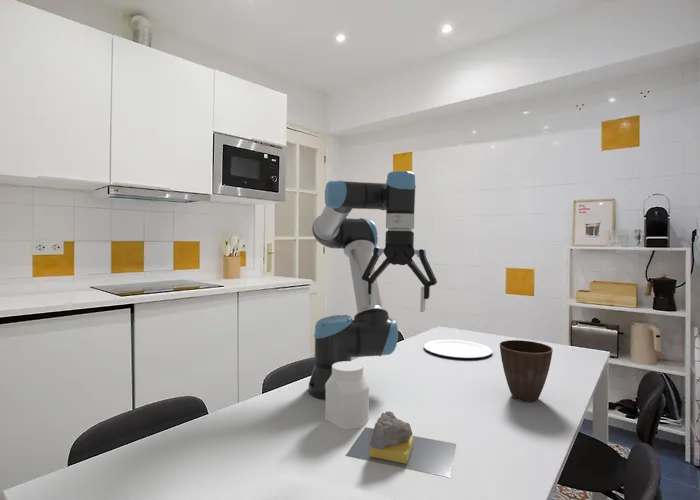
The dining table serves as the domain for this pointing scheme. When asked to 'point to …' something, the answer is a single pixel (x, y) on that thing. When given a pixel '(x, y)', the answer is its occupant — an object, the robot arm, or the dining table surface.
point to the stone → (389, 431)
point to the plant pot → (525, 367)
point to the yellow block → (394, 451)
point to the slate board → (412, 454)
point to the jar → (347, 396)
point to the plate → (458, 349)
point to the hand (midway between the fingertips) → (397, 308)
